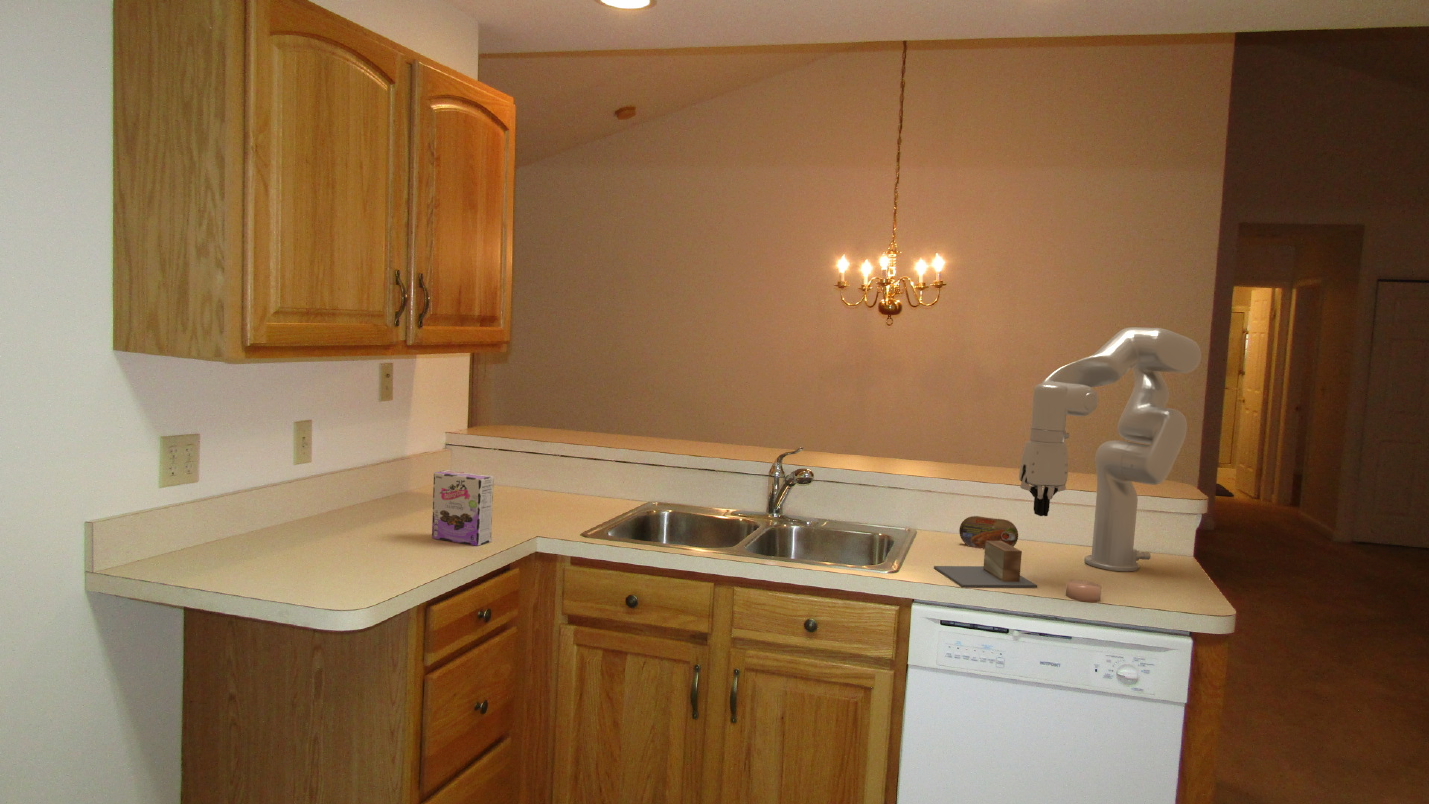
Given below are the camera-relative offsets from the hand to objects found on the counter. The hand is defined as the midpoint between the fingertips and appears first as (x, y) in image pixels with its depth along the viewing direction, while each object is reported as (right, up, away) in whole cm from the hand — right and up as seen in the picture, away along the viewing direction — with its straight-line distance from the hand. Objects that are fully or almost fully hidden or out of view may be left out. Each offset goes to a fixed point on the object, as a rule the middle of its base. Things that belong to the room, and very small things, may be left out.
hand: (1040, 514), depth 216 cm
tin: (-4, -13, +30) cm, 33 cm away
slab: (-9, -14, 0) cm, 17 cm away
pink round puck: (+5, -17, -13) cm, 22 cm away
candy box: (-138, -8, +9) cm, 138 cm away
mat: (-14, -15, -1) cm, 20 cm away
